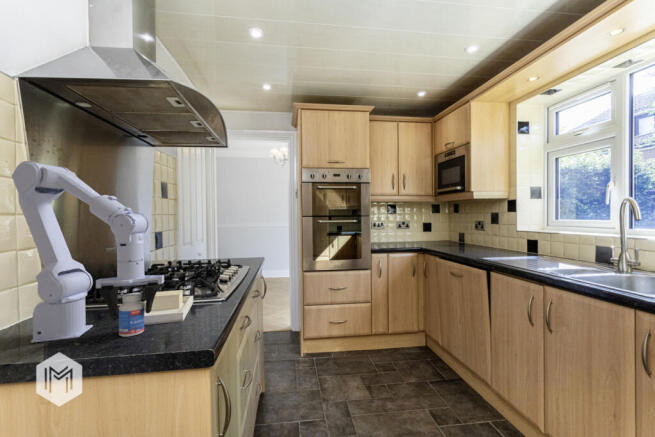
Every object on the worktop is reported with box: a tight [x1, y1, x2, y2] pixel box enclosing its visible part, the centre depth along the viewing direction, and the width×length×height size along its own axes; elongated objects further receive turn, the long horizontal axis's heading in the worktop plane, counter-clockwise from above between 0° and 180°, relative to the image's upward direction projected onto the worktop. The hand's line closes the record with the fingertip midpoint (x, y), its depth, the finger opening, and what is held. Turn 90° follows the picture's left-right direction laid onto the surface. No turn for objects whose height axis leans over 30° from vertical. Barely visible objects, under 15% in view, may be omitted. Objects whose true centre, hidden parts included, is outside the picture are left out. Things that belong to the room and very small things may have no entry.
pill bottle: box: [118, 292, 145, 338], centre depth 74 cm, size 6×5×10 cm
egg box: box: [151, 289, 184, 311], centre depth 93 cm, size 8×6×4 cm
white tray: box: [142, 295, 194, 326], centre depth 89 cm, size 14×18×2 cm
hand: (131, 313), depth 74 cm, fingers open, 7 cm apart
